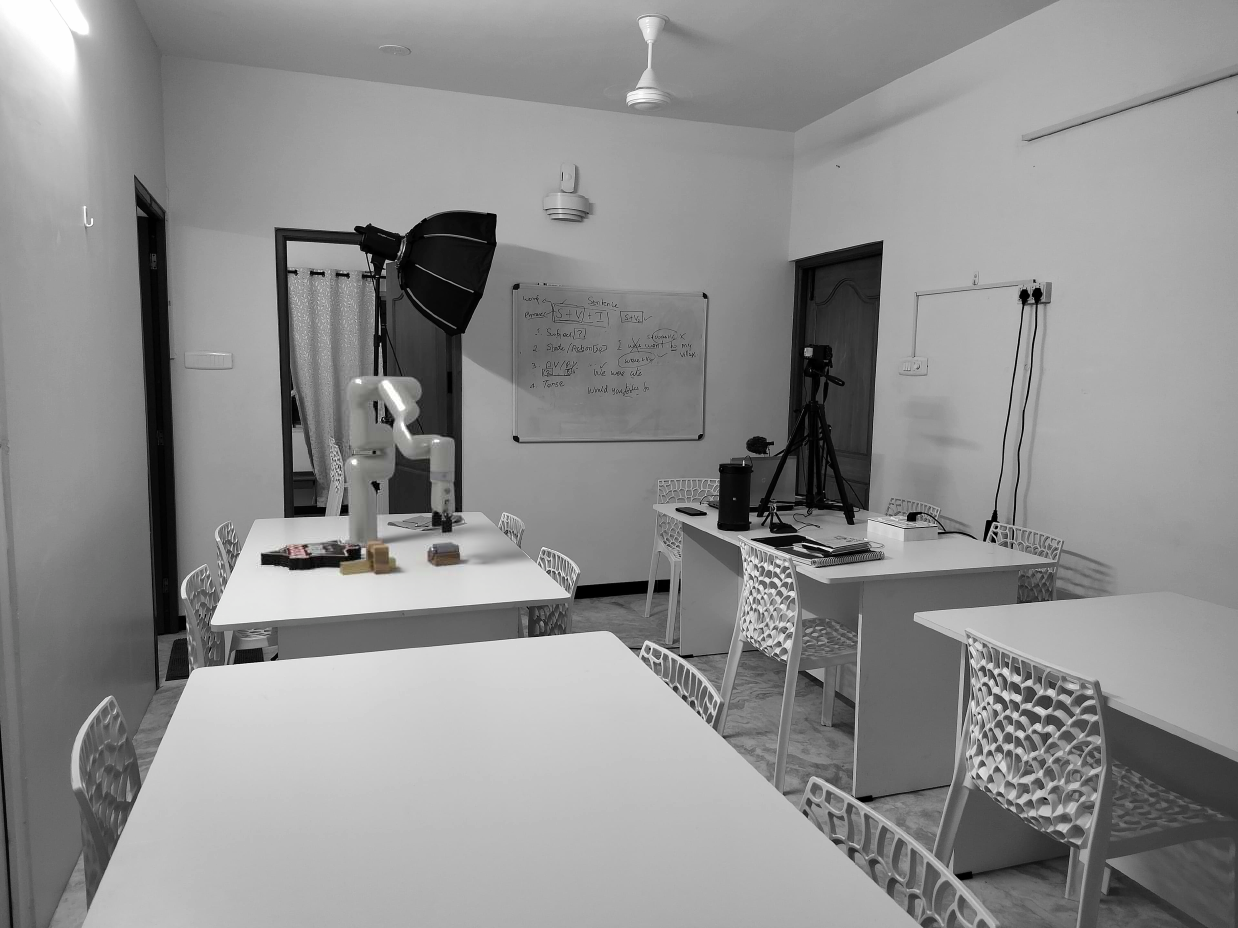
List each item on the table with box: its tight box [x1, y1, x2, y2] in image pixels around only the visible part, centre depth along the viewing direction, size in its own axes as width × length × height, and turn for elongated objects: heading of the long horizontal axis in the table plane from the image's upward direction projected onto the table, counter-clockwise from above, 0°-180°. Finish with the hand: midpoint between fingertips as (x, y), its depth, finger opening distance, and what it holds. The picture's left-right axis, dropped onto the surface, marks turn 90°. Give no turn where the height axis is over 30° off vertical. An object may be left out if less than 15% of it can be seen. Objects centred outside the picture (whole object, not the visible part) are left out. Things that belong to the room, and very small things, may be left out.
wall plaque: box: [260, 539, 362, 571], centre depth 260 cm, size 28×4×30 cm
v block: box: [426, 550, 461, 567], centre depth 260 cm, size 8×8×4 cm
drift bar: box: [339, 556, 397, 576], centre depth 247 cm, size 16×3×4 cm, turn 121°
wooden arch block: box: [365, 540, 390, 575], centre depth 249 cm, size 12×4×8 cm, turn 31°
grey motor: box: [428, 541, 460, 558], centre depth 260 cm, size 9×4×4 cm, turn 122°
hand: (441, 529), depth 259 cm, fingers open, 9 cm apart
